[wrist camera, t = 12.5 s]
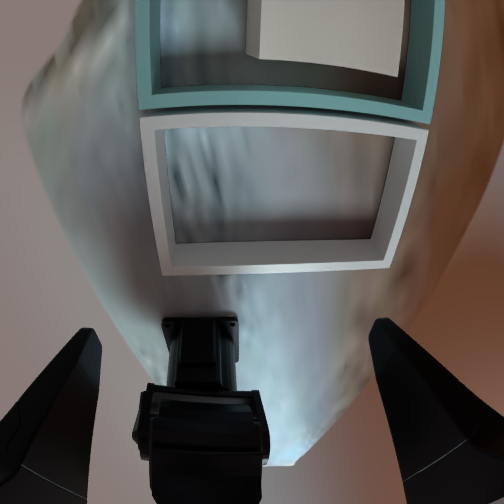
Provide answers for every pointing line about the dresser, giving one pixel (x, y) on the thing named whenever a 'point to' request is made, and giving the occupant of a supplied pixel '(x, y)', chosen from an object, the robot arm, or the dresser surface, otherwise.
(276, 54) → the cream block
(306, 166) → the dresser surface
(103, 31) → the dresser surface
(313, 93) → the teal bin
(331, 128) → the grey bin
